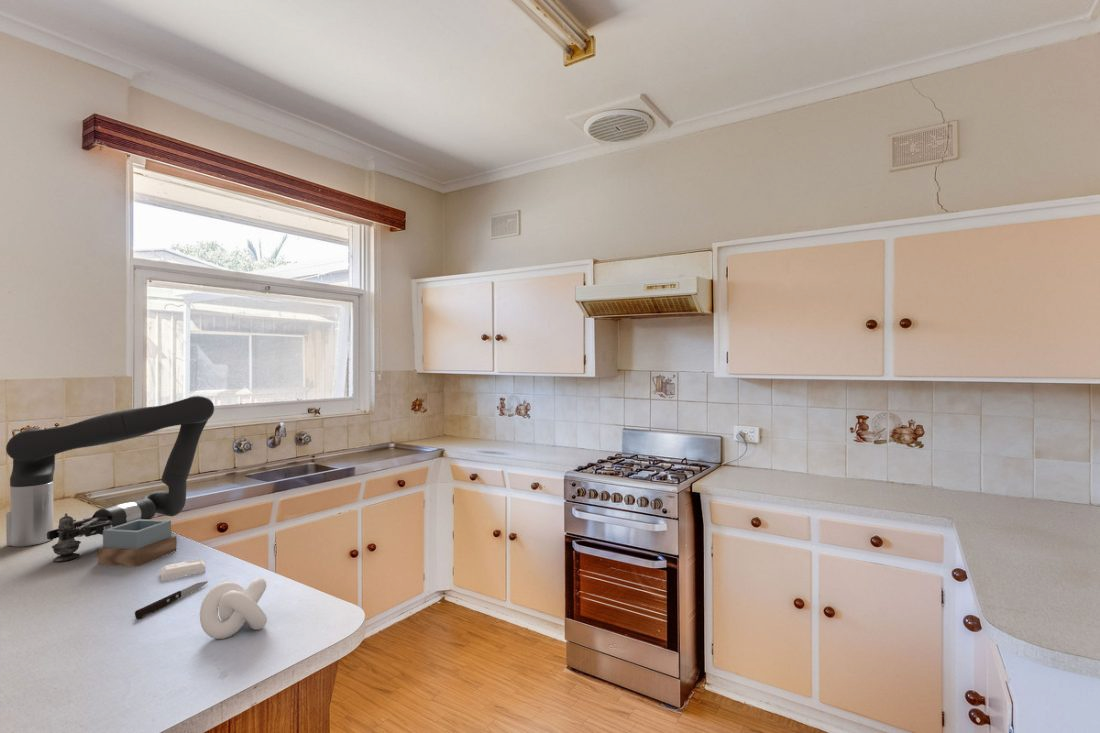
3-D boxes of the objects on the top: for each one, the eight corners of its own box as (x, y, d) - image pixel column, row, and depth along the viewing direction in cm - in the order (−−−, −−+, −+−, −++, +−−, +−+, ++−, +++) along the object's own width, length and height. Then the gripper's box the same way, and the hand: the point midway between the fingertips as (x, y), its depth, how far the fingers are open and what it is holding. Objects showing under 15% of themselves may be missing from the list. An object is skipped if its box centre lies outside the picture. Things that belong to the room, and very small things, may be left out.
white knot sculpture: (229, 614, 113) (228, 571, 113) (285, 614, 112) (285, 571, 112) (191, 642, 101) (191, 594, 101) (254, 643, 101) (253, 595, 101)
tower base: (98, 565, 142) (97, 548, 142) (140, 549, 154) (140, 534, 154) (136, 568, 140) (136, 550, 140) (176, 552, 151) (176, 536, 151)
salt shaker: (63, 562, 142) (62, 516, 142) (45, 560, 143) (45, 515, 143) (86, 554, 148) (86, 510, 148) (69, 553, 149) (68, 509, 149)
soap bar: (160, 576, 134) (160, 565, 134) (203, 567, 140) (203, 557, 140) (161, 582, 130) (161, 571, 130) (205, 573, 136) (205, 563, 136)
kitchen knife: (138, 621, 110) (138, 611, 110) (134, 620, 110) (134, 610, 110) (210, 585, 128) (210, 576, 128) (206, 585, 128) (206, 576, 128)
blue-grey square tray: (103, 547, 142) (102, 530, 142) (139, 535, 153) (138, 519, 153) (137, 549, 141) (136, 532, 141) (171, 536, 151) (171, 520, 151)
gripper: (97, 504, 161) (32, 520, 144) (137, 506, 158) (77, 523, 141) (97, 529, 161) (32, 549, 144) (137, 531, 158) (77, 552, 141)
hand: (55, 536), depth 143 cm, fingers closed on salt shaker, 3 cm apart
